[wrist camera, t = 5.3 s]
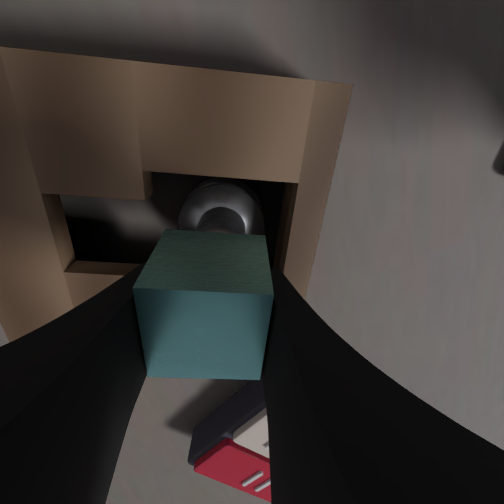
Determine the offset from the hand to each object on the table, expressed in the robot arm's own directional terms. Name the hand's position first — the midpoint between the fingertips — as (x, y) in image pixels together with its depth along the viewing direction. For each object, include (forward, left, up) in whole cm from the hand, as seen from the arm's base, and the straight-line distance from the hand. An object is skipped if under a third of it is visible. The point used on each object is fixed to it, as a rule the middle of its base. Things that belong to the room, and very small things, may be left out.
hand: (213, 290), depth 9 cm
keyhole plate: (+3, -1, -6) cm, 7 cm away
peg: (0, -1, -6) cm, 6 cm away
